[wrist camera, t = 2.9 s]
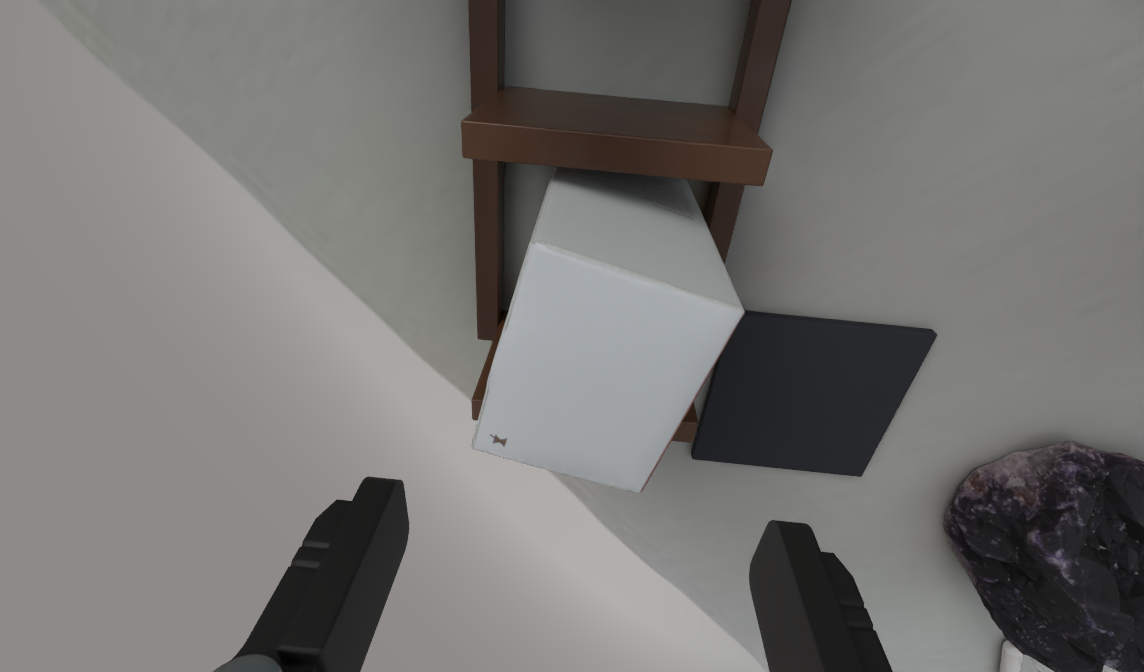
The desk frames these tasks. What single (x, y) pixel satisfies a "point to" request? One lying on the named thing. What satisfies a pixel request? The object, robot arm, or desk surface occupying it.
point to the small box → (607, 329)
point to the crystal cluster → (1058, 553)
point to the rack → (608, 146)
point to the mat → (807, 392)
